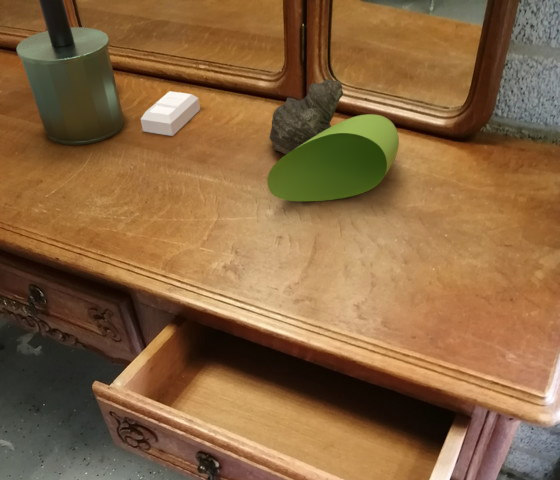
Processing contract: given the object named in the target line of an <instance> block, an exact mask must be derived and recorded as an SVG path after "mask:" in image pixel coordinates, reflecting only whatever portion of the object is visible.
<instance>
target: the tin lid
mask: <svg viewBox="0 0 560 480" xmlns="http://www.w3.org/2000/svg"><path fill="white" fill-rule="evenodd" d="M38 2H39V6H40V10H41V13H42V16H43V20H44V23H45V26H46V29H47V30H45V31H42V32H38V33H35V34H32V35H30V36H27V37H26V38H24V39H23V40H21V41H19V43H18V44H17V46H16V53H17V56H18V57H19V59H20V60H21V59H22V60H24V61H26V62H29V63H33V64H39V65H60V64H69V63H74V62H79V61H83V60H86V59H89V58H92V57H94V56H97V55H99V54H101V53H102V52H104V51H105V50H106V49H107V48H108V49H109V47H110V38H109V36H108V34H107V33H106V32H104V31H102V30H99V29H96V28H91V27H81V26H80V27H79V26H78V27H76V26H75V27H73V26H71V24H70V20H69V16H68V13H67V9H66V4H65V1H64V0H38ZM22 60H21V61H22Z"/></svg>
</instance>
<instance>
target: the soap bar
mask: <svg viewBox="0 0 560 480" xmlns="http://www.w3.org/2000/svg"><path fill="white" fill-rule="evenodd" d="M200 110H201V108H200V101H199V97H197V96H196V95H194V94H192V93H188V92H187V93H186V92H180V91H179V92H178V91H171V90H170V91H167V93H165V95H163V96H162V97H161V98H160V99H158V100H157V101H156V102H155V103H154V104H153V105H151V106H150V107H149V108H148V109H147V110H146V111H145V112H144V113H143V115H142V116H141V117H140V123H141V128H142V132H144V133H151V134H157V135H163V136H170V137H174V135H176V133H178V131H180V129H182V128H183V127H184V126H185V125H186V124H187V123H188V122H189V121H191V120H192V118H194V116H195V115H197V113H199V111H200Z"/></svg>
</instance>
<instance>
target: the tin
mask: <svg viewBox="0 0 560 480" xmlns="http://www.w3.org/2000/svg"><path fill="white" fill-rule="evenodd" d="M20 60H21V62H22V66H23V69H24V72H25V74H26V78H27V81H28V83H29V87H30V90H31V94H32V96H33V99H34V102H35V105H36V108H37V111H38V114H39V117H40V120H41V123H42V126H43V129H44V132H45V133H46V136H47V138H48V139H49V140H50V141H52V142H54V143H57V144H61V145H66V146H84V145H85V146H86V145H91V144H96V143H99V142H103V141H105V140H107V139H110V138H111V137H114V136H115V135H117V134H118V133H119V132H120V131H121V130H122V129H123V127H124V125H125V122H124V121H125V120H124V113H123V108H122V105H121V100H120V95H119V91H118V85H117V83H116V78H115V72H114V70H113V64H112V60H111V55H110V51H109V47H108V48H107V49H106V50H105V51H104V52H102V53H101V54H99V55H97V56H94V57H92V58H89V59H86V60H83V61H79V62H74V63H69V64H60V65H39V64H33V63H29V62H26V61H24V60H22V59H20ZM116 85H117V86H116Z"/></svg>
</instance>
